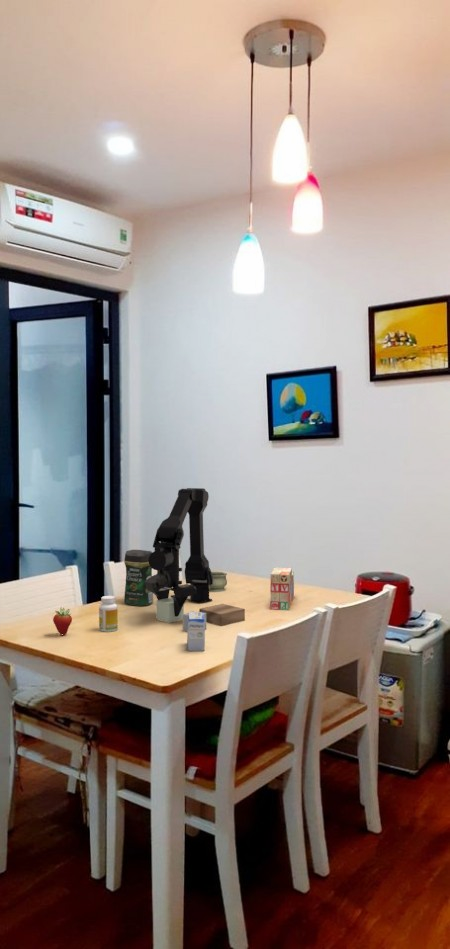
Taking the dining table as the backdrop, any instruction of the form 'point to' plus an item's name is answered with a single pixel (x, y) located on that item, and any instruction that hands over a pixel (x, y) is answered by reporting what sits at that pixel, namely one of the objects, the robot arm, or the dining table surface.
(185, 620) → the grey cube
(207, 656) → the dining table surface
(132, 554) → the coffee jar
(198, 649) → the medicine box
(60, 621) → the fruit
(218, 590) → the vessel
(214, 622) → the walnut block
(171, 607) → the sage cube
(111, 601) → the supplement bottle
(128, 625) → the dining table surface
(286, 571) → the stack of blocks
